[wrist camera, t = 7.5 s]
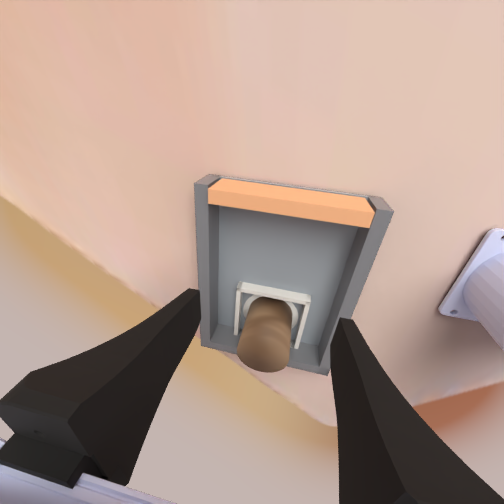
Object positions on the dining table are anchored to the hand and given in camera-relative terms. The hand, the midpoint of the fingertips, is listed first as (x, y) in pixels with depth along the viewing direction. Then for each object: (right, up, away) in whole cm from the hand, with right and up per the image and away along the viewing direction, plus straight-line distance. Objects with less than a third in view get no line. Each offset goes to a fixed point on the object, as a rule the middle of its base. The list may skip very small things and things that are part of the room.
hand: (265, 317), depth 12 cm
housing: (+2, +1, +10) cm, 10 cm away
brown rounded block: (+1, -3, +12) cm, 12 cm away
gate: (+2, +8, +5) cm, 10 cm away
